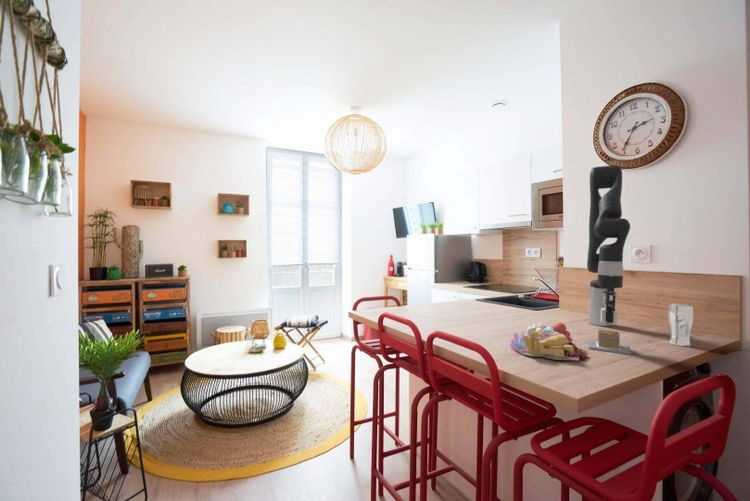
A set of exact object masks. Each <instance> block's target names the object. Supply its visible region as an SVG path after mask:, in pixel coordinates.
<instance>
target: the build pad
mask: <svg viewBox="0 0 750 501" xmlns="http://www.w3.org/2000/svg"><path fill="white" fill-rule="evenodd" d="M587 343H588V344H587V345H588V349H589V350H595V351H596V350H597V351H603V352H609V353H616V354H622V355H629V356H630V355H632V354H631V350H630V349H629V347H628V345H627V344H625V343H620V342H619V349H616V348H609V347H602V346H599V345H598V339H597V340H596V339H591V338H589V339H587Z"/></svg>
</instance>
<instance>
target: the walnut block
mask: <svg viewBox="0 0 750 501" xmlns="http://www.w3.org/2000/svg"><path fill="white" fill-rule="evenodd" d="M620 336H621V335H620V333H619V331H618V330H614V329H613V330H611V329H603V328H597V341H598V345H599V346H602V347H609V348H616V349H619V343H620Z"/></svg>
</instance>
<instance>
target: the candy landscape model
mask: <svg viewBox="0 0 750 501" xmlns="http://www.w3.org/2000/svg"><path fill="white" fill-rule="evenodd" d="M512 338H513V339H512ZM512 338H511V340H510V344H509V345H510V349H511V350H514V352H518V353H520V354H521V355H524V356H529V357H539V358H541V357H542V358H545V359H551V360H556V361H579V360H580V359H581V360H583V361H584V360H586V358H588V357H589V356H588V353H587V352H586V351H583V350H581V349H580V347H578V346H577V345H576V344H575V343H574V342H573V338H572V336H571V333H570V331H569V330H567V326H566V325H565V323H563V322H559V321H558V322H556V323H555V324H554V325H552V326H547V325H546V324H544V323H541V322H540V323H534V324H533V325H532V326H528V327H527V329H526V333H525V334H524V332H521V334H520V335H519V334H518V333H517V331H516V332H515V331H513V334H512Z"/></svg>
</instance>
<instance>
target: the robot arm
mask: <svg viewBox="0 0 750 501" xmlns="http://www.w3.org/2000/svg"><path fill="white" fill-rule="evenodd" d="M601 189H602V190H603V189H605V190H606V189H608V191H607V192H606V193H605V194H603V196H601V193H600V191H599V190H601ZM622 191H623V171H622V167H621V166H620V165H617V164H614V165H613V164H612V165H611V164H610V165H603V166H602V165H601V166H595V167H592V168H591V169H590V172H589V196H590V197H589V199H590V201H589V203H590V205H589V218H588V222H589V223H588V240H589V241H588V250H587V258H586V259H587V262H586V265H587V266H586V267H587V270H588V273H589V272H590V273H596V274H597V279H593V280H591V281H590V283H589V308H588V309H589V312H588V313H589V315H588V323H589V324H591V325H594V326H600V327H613V324H612V323H613V312H614V311H615V309H616V308H615V307H616V304H617V296H618V295H617V294H618V293H617V292H615V289H621V288H623V286H624V285H623V284H624V265H623V262H624V261H623V259H624V258H623V256H624V248H625V243H626V240H627V238H628V236H629V232H630V231H631V230H630V229H631V224H630V222H629V220H628V219H626V218H622V214H623V212H622V204H621V203H622V202H621V200H622ZM607 239H616V240H615V241H614V242H613V243H608V244H604V242H605V241H606V240H607ZM598 250H599V253H597V252H598ZM601 308H606V309H605V311H606V322H608V323H603V322H601Z"/></svg>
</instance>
